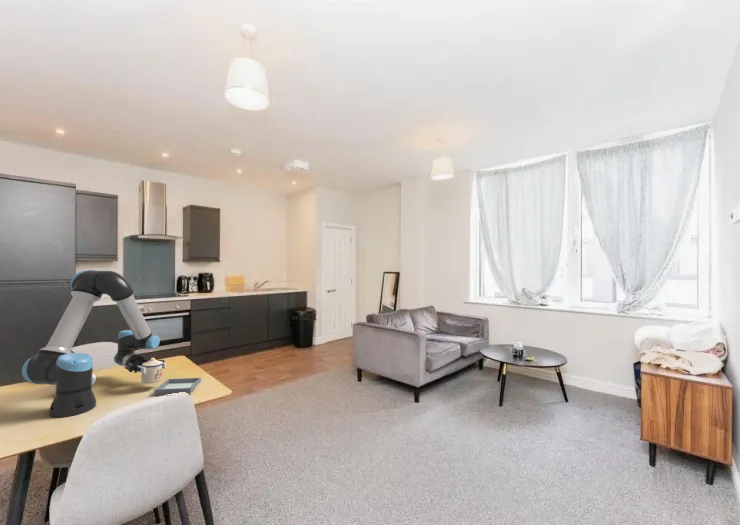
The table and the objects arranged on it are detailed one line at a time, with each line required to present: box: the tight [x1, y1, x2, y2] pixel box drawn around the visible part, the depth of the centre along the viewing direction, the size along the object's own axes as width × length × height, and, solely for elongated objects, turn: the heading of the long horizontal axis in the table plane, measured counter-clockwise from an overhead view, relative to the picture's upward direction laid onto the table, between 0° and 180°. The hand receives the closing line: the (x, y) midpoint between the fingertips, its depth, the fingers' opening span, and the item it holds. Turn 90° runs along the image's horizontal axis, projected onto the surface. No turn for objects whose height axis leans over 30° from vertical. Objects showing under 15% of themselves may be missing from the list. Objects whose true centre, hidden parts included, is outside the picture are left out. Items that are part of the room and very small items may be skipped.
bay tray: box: [154, 377, 202, 397], centre depth 167 cm, size 16×16×3 cm
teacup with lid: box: [141, 357, 163, 385], centre depth 169 cm, size 12×9×12 cm
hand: (155, 368), depth 166 cm, fingers closed on teacup with lid, 9 cm apart
